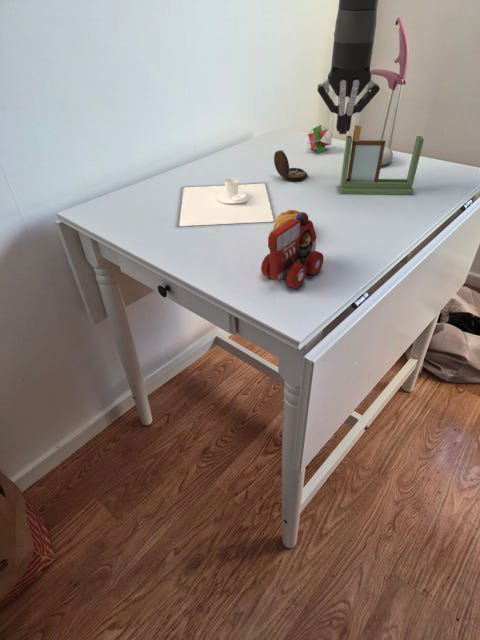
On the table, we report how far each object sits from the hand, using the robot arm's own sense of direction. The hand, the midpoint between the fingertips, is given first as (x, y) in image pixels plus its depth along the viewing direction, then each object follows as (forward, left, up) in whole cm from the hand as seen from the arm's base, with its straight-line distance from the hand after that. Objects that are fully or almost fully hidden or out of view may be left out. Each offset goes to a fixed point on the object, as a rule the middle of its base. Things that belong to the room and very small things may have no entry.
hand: (342, 133), depth 92 cm
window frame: (-9, 0, -13) cm, 16 cm away
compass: (+11, -8, -13) cm, 19 cm away
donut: (-11, -19, -13) cm, 26 cm away
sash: (-6, 0, -12) cm, 13 cm away
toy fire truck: (+10, +36, -13) cm, 39 cm away
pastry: (+10, +22, -13) cm, 27 cm away
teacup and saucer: (+25, +8, -13) cm, 30 cm away
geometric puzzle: (+3, -27, -13) cm, 30 cm away
